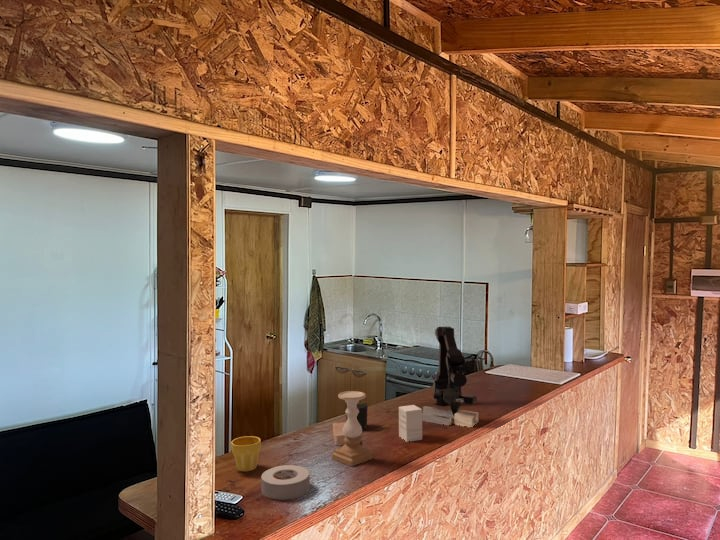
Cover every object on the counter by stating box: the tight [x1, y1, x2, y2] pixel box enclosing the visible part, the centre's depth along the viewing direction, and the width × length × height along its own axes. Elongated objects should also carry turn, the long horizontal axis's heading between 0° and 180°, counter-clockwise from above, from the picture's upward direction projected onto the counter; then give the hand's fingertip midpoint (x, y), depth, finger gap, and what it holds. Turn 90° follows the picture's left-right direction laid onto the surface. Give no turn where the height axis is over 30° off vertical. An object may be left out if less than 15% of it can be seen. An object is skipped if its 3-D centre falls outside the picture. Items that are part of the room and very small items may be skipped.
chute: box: [422, 405, 460, 426], centre depth 250 cm, size 13×18×3 cm
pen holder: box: [345, 403, 369, 431], centre depth 238 cm, size 9×9×10 cm
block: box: [453, 409, 479, 428], centre depth 243 cm, size 8×8×5 cm
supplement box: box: [398, 404, 423, 443], centre depth 224 cm, size 7×7×13 cm
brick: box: [332, 421, 346, 447], centre depth 224 cm, size 17×8×5 cm, turn 7°
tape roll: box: [260, 464, 311, 501], centre depth 176 cm, size 15×15×5 cm
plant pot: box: [230, 435, 262, 472], centre depth 193 cm, size 10×10×10 cm
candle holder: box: [331, 390, 373, 467], centre depth 202 cm, size 11×11×24 cm
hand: (454, 416), depth 245 cm, fingers closed
